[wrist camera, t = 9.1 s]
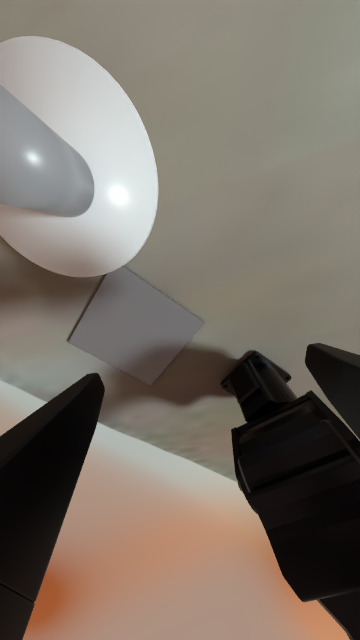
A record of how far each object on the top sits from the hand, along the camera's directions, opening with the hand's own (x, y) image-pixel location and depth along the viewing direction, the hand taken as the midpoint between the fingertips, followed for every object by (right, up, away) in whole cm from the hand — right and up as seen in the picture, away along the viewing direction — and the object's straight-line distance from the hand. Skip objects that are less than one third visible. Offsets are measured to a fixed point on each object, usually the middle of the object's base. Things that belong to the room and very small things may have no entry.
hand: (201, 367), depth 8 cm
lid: (-8, +10, +3) cm, 13 cm away
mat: (-6, +1, +13) cm, 14 cm away
